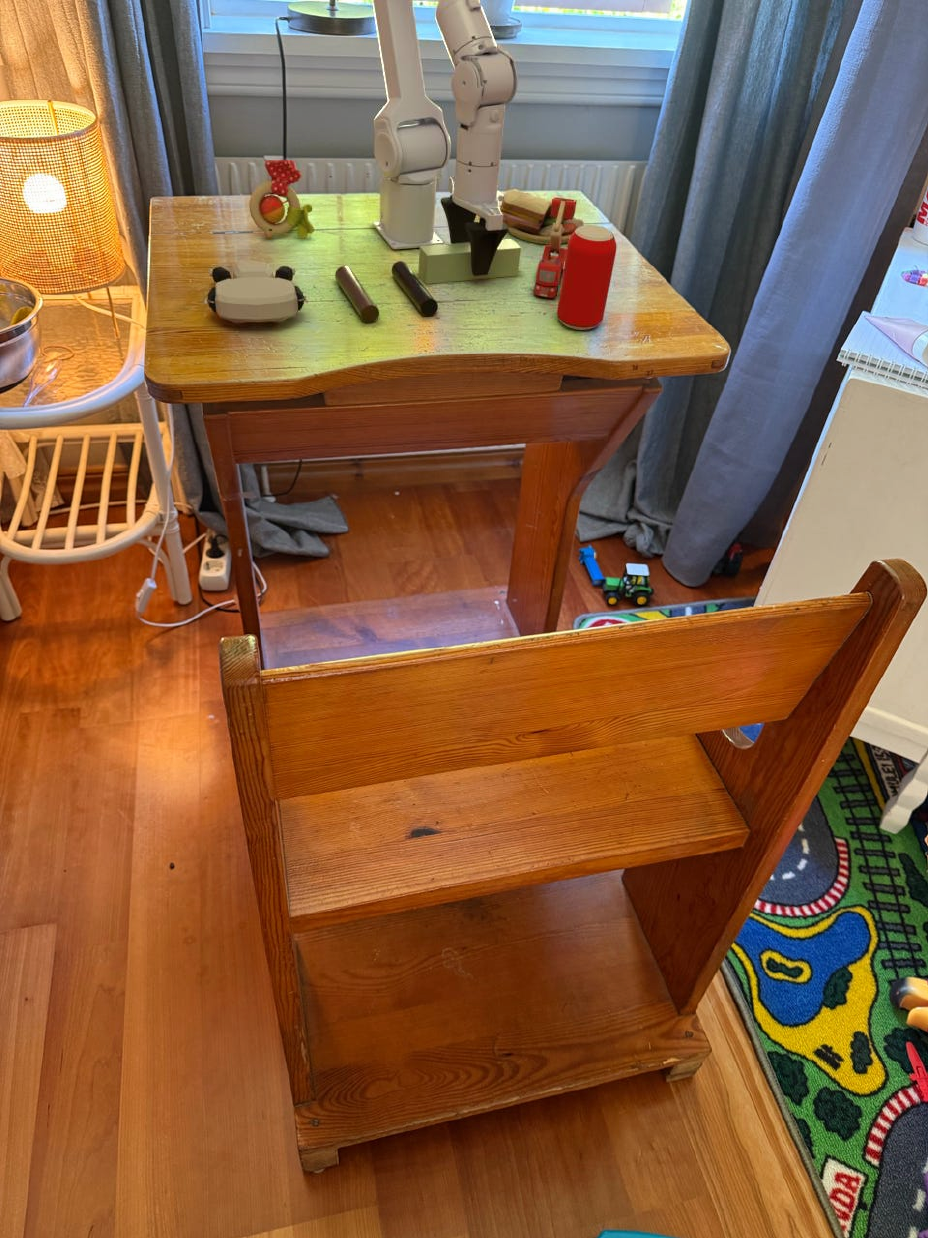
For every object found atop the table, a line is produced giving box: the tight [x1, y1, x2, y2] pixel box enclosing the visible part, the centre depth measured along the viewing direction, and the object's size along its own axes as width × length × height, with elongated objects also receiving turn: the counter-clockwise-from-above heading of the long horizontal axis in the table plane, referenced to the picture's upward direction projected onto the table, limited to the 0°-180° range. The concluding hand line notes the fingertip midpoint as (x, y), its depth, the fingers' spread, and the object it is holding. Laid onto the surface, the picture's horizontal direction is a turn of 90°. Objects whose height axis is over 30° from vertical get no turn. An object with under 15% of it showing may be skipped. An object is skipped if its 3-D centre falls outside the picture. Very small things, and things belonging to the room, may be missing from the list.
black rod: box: [391, 260, 439, 318], centre depth 123 cm, size 12×2×2 cm, turn 22°
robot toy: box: [204, 260, 309, 324], centre depth 116 cm, size 12×4×15 cm
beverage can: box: [556, 224, 618, 331], centre depth 117 cm, size 6×6×12 cm
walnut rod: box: [334, 265, 380, 324], centre depth 120 cm, size 12×2×2 cm, turn 22°
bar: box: [417, 238, 522, 285], centre depth 128 cm, size 14×3×4 cm, turn 112°
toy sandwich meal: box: [499, 188, 585, 245], centre depth 142 cm, size 12×14×5 cm
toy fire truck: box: [533, 196, 578, 299], centre depth 127 cm, size 3×14×10 cm, turn 168°
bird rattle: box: [248, 158, 315, 240], centre depth 131 cm, size 6×11×9 cm
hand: (469, 262), depth 129 cm, fingers open, 7 cm apart
